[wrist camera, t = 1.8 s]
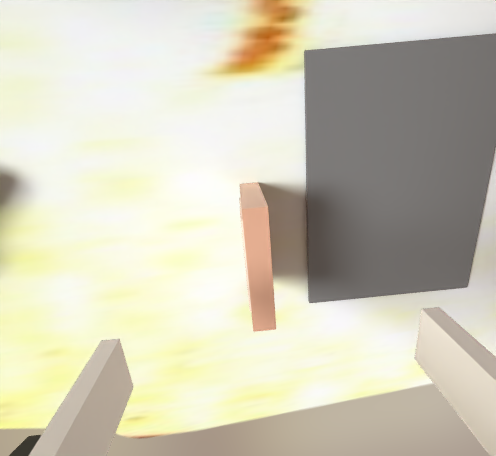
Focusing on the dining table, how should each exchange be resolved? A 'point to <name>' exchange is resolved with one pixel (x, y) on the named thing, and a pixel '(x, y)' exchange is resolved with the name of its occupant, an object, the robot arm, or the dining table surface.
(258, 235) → the terracotta tile
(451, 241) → the rubber mat
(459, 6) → the dining table surface
